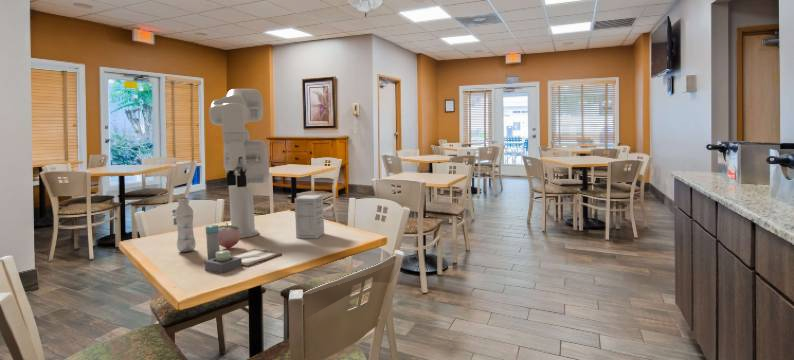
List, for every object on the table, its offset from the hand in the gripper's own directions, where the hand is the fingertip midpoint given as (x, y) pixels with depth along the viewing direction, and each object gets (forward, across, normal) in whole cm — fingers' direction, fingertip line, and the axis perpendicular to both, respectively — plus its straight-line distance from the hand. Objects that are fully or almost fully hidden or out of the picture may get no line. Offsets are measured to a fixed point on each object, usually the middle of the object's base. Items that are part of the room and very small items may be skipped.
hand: (236, 186), depth 164 cm
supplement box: (+24, -8, +33) cm, 42 cm away
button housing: (+26, +13, -10) cm, 30 cm away
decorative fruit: (+25, -11, 0) cm, 27 cm away
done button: (+23, +13, -11) cm, 28 cm away
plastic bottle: (+25, -18, -13) cm, 34 cm away
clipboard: (+25, +7, +1) cm, 26 cm away
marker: (+25, 0, -10) cm, 27 cm away
